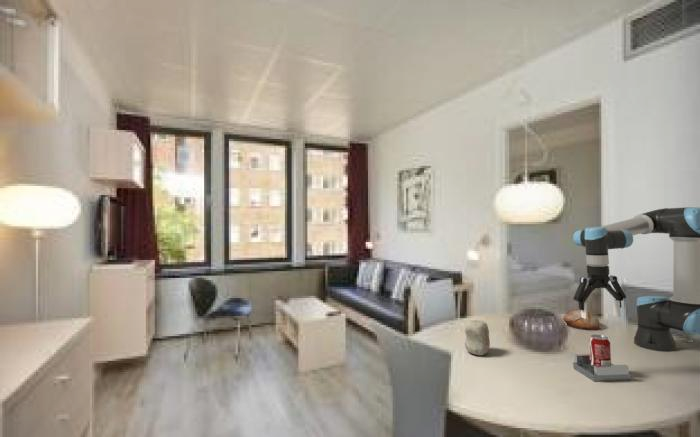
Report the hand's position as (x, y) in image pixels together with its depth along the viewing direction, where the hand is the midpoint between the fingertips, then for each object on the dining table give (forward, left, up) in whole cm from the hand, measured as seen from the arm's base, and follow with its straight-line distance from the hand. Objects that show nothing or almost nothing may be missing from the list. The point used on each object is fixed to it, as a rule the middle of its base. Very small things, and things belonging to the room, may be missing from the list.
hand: (600, 317), depth 144 cm
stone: (+43, -23, -21) cm, 53 cm away
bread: (-29, -57, -22) cm, 67 cm away
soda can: (+4, +4, -19) cm, 20 cm away
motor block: (+4, +4, -21) cm, 22 cm away
